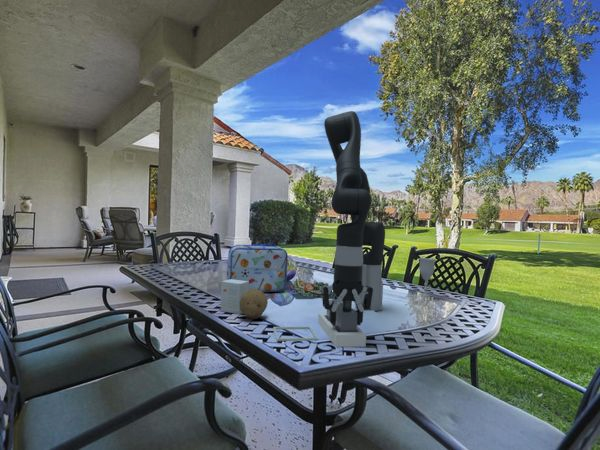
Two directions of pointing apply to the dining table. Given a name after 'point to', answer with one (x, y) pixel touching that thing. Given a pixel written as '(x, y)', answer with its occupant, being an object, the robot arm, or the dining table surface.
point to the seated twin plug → (337, 307)
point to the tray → (295, 338)
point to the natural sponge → (253, 303)
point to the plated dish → (308, 289)
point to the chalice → (426, 272)
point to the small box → (232, 295)
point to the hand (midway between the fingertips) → (345, 324)
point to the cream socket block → (342, 334)
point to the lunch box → (258, 266)
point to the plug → (346, 318)
